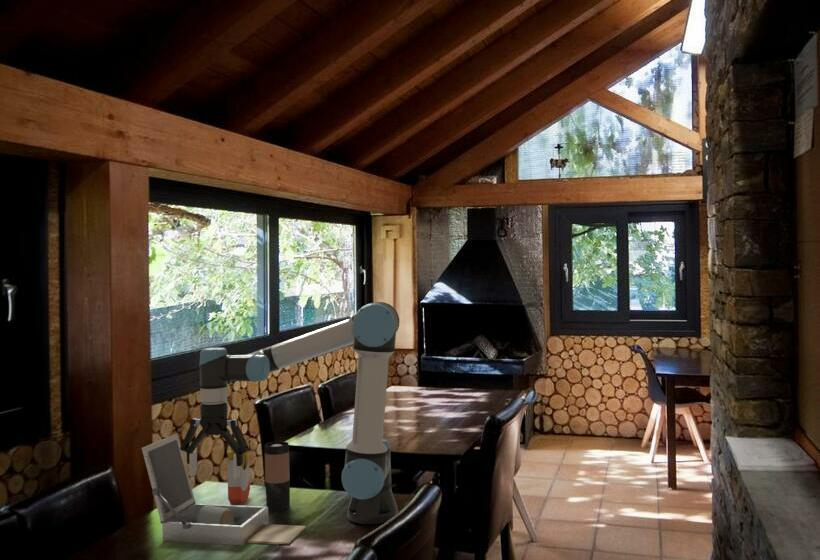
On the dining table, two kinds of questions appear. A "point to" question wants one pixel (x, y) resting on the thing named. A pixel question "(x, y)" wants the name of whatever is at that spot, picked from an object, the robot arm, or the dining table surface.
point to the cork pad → (277, 534)
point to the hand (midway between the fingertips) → (214, 476)
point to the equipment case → (192, 501)
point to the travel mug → (277, 476)
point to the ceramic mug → (215, 515)
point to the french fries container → (238, 480)
